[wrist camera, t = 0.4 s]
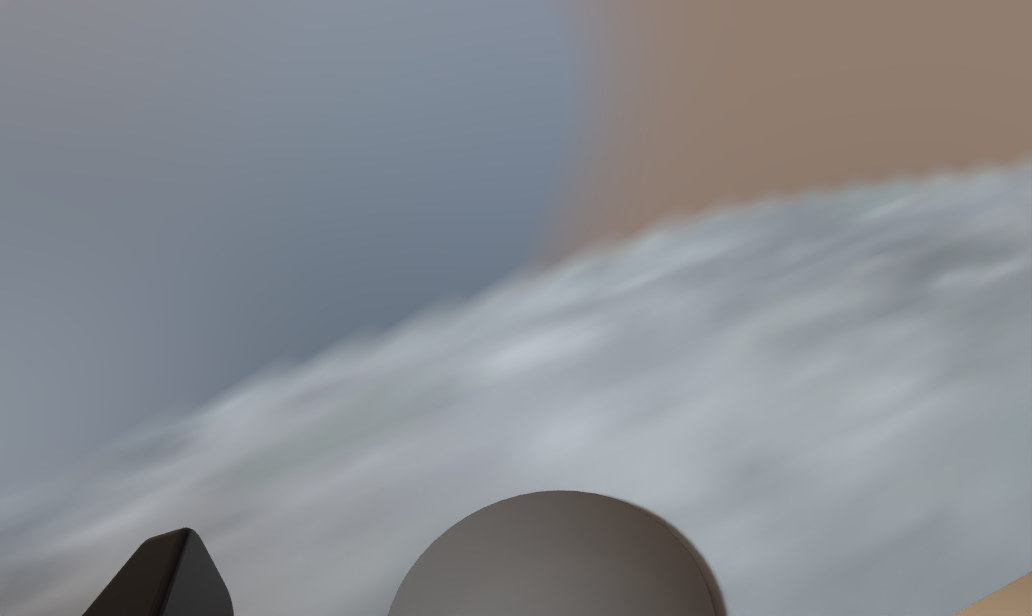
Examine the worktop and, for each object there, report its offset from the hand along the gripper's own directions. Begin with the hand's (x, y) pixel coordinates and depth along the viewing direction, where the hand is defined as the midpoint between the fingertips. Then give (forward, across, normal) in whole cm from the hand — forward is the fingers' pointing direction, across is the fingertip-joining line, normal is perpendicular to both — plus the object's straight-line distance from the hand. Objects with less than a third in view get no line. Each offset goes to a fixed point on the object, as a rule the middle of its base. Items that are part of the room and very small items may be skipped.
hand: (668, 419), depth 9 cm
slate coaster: (+11, +2, +14) cm, 18 cm away
